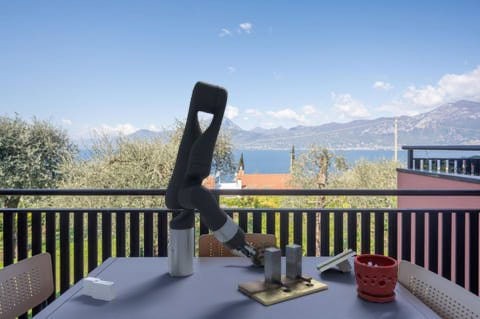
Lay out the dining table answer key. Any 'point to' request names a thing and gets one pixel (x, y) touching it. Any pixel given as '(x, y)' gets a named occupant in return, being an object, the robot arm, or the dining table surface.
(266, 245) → the pine cone
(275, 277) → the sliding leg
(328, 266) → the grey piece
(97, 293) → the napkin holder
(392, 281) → the plant pot
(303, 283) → the bolt plate
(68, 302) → the dining table surface
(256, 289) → the base
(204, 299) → the dining table surface
